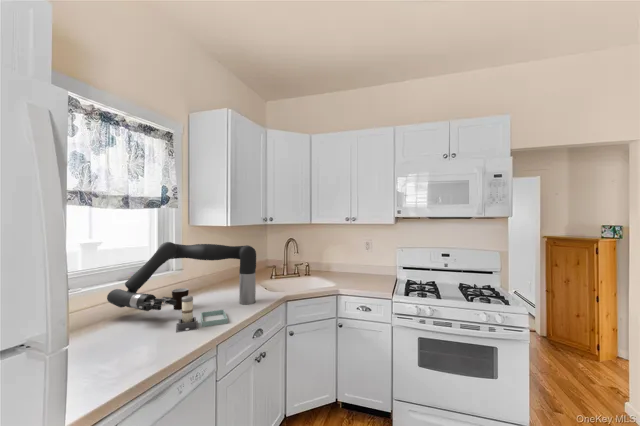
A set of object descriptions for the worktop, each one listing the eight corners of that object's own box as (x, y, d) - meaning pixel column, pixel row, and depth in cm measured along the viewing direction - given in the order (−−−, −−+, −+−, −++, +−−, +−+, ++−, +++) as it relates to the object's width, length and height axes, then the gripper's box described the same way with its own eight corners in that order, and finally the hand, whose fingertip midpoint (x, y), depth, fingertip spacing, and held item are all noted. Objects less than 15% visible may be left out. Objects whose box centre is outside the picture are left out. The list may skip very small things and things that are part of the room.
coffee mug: (181, 310, 157) (182, 292, 157) (167, 310, 159) (168, 291, 159) (195, 304, 169) (195, 287, 169) (182, 303, 170) (182, 286, 170)
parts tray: (200, 318, 145) (200, 312, 145) (223, 315, 150) (223, 309, 150) (202, 328, 131) (202, 322, 131) (227, 325, 136) (227, 318, 136)
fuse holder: (176, 325, 136) (176, 317, 136) (197, 322, 139) (197, 315, 140) (175, 334, 125) (175, 326, 125) (198, 331, 129) (198, 323, 129)
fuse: (181, 325, 133) (181, 296, 133) (192, 323, 135) (192, 295, 135) (181, 328, 129) (181, 299, 129) (193, 327, 131) (193, 297, 131)
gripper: (129, 297, 135) (155, 301, 129) (156, 290, 148) (180, 293, 143) (128, 313, 135) (154, 318, 129) (155, 305, 148) (180, 308, 143)
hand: (168, 305), depth 136 cm, fingers open, 8 cm apart
